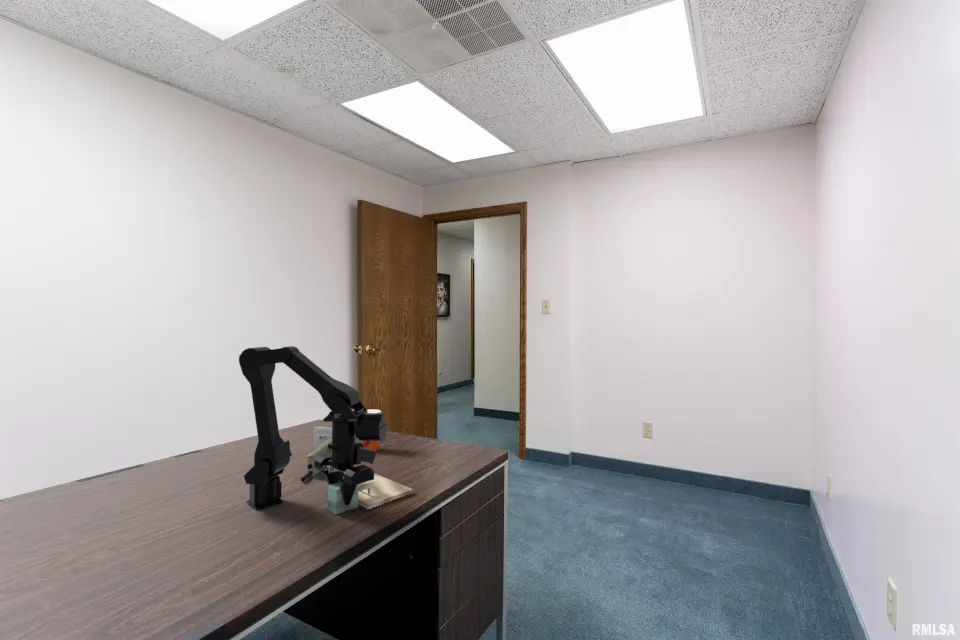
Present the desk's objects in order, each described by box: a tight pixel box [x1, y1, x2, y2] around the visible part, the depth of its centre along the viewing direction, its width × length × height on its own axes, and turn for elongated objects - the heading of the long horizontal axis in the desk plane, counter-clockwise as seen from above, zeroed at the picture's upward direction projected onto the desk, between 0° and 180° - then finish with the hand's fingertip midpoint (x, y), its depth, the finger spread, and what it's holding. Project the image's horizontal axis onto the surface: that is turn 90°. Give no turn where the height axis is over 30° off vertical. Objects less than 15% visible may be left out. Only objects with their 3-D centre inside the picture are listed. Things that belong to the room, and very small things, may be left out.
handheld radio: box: [300, 437, 332, 483], centre depth 140 cm, size 7×3×25 cm
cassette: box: [313, 426, 332, 449], centre depth 161 cm, size 12×2×8 cm, turn 74°
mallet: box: [327, 481, 372, 515], centre depth 113 cm, size 11×4×6 cm, turn 137°
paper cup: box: [362, 409, 383, 452], centre depth 160 cm, size 8×8×14 cm
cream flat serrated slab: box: [326, 472, 414, 510], centre depth 122 cm, size 14×20×1 cm
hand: (342, 502), depth 111 cm, fingers closed on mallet, 4 cm apart
